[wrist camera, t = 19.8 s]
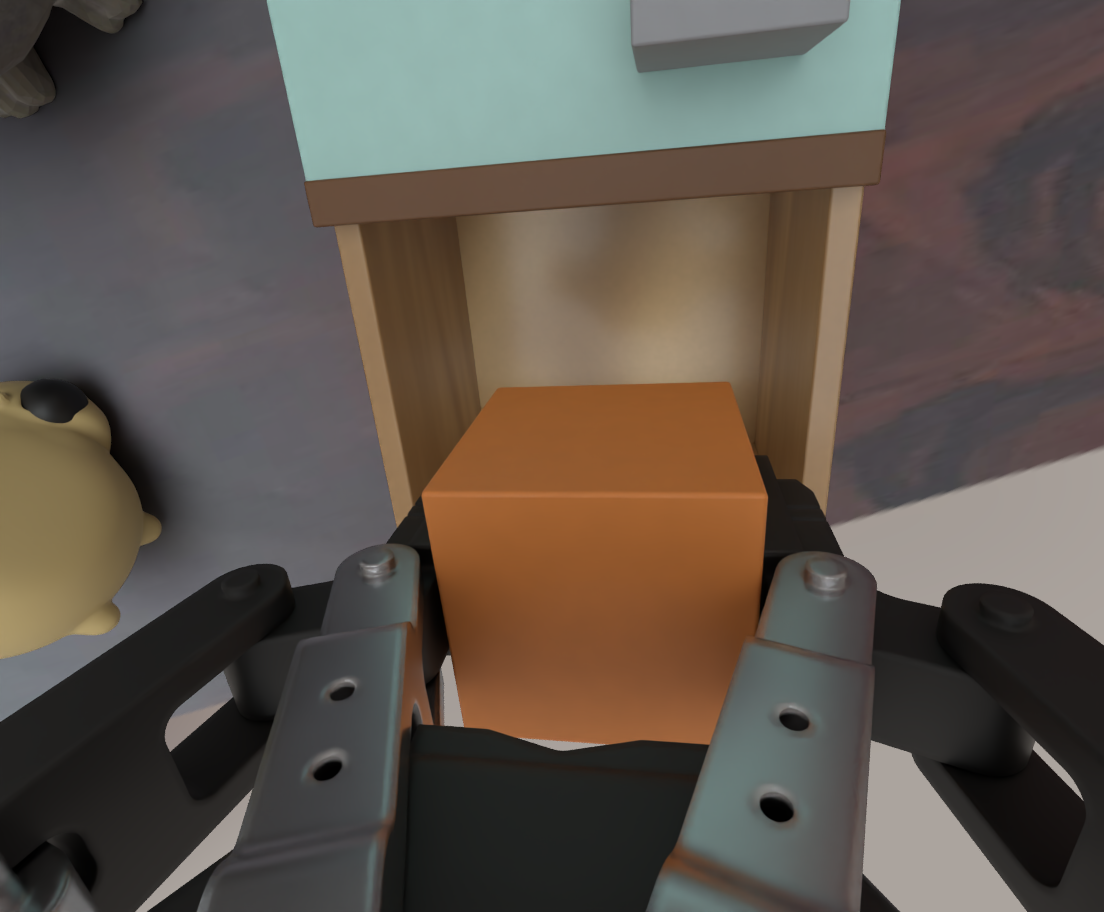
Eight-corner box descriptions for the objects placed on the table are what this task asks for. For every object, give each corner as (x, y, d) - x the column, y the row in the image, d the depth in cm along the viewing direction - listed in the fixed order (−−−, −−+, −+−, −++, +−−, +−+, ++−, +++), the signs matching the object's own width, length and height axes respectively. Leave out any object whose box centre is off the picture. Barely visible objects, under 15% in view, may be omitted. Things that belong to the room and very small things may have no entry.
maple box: (799, 33, 20) (894, -59, 12) (769, 450, 25) (818, 578, 18) (424, 76, 22) (291, 24, 14) (476, 453, 28) (404, 567, 20)
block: (722, 580, 14) (749, 757, 10) (519, 574, 15) (464, 735, 10) (730, 379, 12) (769, 493, 8) (496, 386, 13) (418, 493, 9)
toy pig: (216, 431, 34) (20, 312, 24) (170, 663, 29) (-100, 628, 19) (66, 457, 35) (-170, 356, 26) (-1, 679, 30) (-325, 655, 21)
